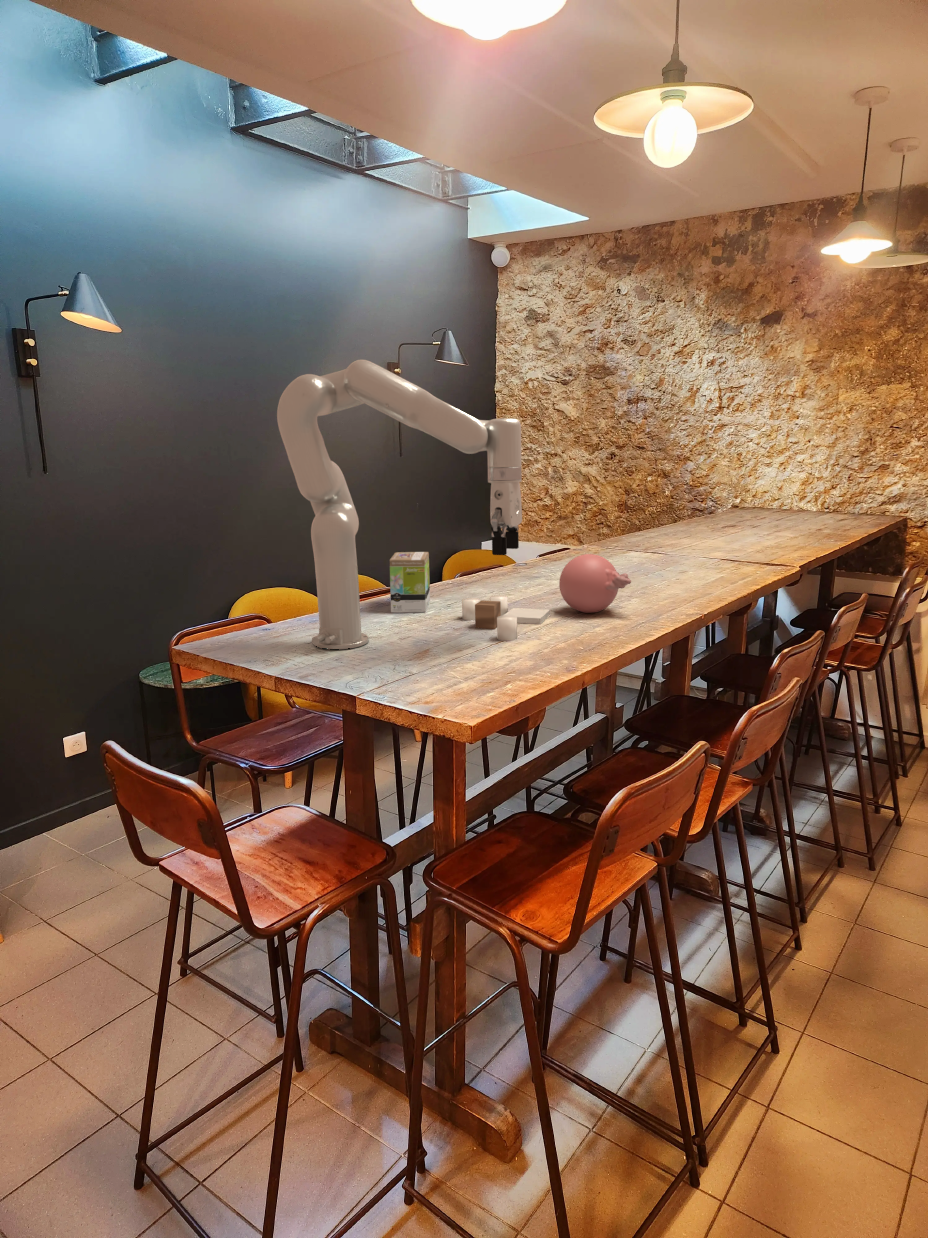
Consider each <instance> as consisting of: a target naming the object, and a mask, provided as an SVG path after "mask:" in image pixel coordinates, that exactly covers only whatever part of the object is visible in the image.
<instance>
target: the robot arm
mask: <svg viewBox="0 0 928 1238" xmlns="http://www.w3.org/2000/svg"><path fill="white" fill-rule="evenodd" d="M363 404H365V405H367V406H369V407H371V408H373V409H374V410H377V411H378V412H380V413H383V414H384V415H387V416H388V417H390V418H392V419H394V420H396V421H397V422H399V423H402V424H404V425H406V426H407V427H410V428H412V429H416V430H418V431H421V432H424V433H425V434H427V435H429V436H432V437H434V438H435V439H437V440H439V441H441V442H443V443H445V444H447V445H449V446H450V447H452V448H455V449H457V450H458V451H460V452H462V453H463V454H468V455H470V454H471V455H473V454H477V453H479V452H485V451H486V452H487V483H489V484H491V485H490V504H489V505H490V506H489V509H490V511H489V513H490V514H489V515H490V524H491V529H490V530H491V553H492V555H493V556H506V555H507V553H508V551H507V550H508V549H509V550H517V549H519V548H520V547H519V544H520V543H519V541H520V540H519V537H520V536H519V533H520V531H519V527H520V526H519V525H520V524H522V521H523V511H522V510H523V509H522V508H523V507H522V506H523V505H522V492H521V491H522V490H521V484H520V483H521V482H522V481H523V480H522V477H523V476H522V425H521V422H520V420H519V419H518V418H514V417H513V418H512V417H510V418H505V417H504V418H502V417H501V418H493V419H489V420H486V419H478V418H476V417H474V416H472V415H470V414H468V413H466V412H464V411H462V410H460V409H459V408H458V407H457V408H456V407H455V406H453V405H451V404H449V403H448V402H445V401H443V400H442V399H440V398H438V397H437V396H434V395H433V394H431V393H430V392H429V391H427V390H426V389H424V388H422V387H420V386H418V385H416V384H415V383H413V382H411V381H409V380H407V379H405V378H403V377H401V376H399V375H398V374H395V373H394V372H391V371H389V370H388V369H386V368H385V367H382V366H380V365H379V364H376V363H374V362H372V361H370V360H367V359H357V360H355V361H353V362H351V363H350V364H349V365H348V366H347V368H345V369H341V370H338V371H334V372H330V373H327V374H324V375H320V376H319V375H317V374H314V373H313V374H312V373H306V374H301V375H300V376H298V377H296V378H295V379H293V380H292V381H291V382H290V383H289V384H288V385H287V386H286V387H285V389H284V390H283V392H282V394H281V396H280V397H279V400H278V405H277V408H276V409H277V411H276V417H277V418H276V420H277V425H278V431H279V433H280V437H281V439H282V443H283V445H284V448H285V451H286V455H287V459H288V462H289V464H290V467H291V469H292V472H293V475H294V478H295V482H296V485H297V488H298V490H299V493H300V494H301V495H302V496H303V498H305V499H306V500H307V501H309V502H310V505H311V508H312V511H313V512H314V515H315V516H314V517H313V520H312V523H311V527H310V537H311V538H310V539H311V546H312V551H313V558H314V559H313V560H314V570H315V571H314V572H315V579H316V580H315V581H316V583H315V584H316V594H317V608H318V609H317V610H318V611H317V612H318V621H319V622H318V624H319V628H318V634H317V635H313V637H311V643H312V644H313V646H314V647H316V646H317V647H316V648H318V647H320V648H319V649H322V648H328V649H327V650H330V649H339V650H349V649H348V648H350V649H355V648H359V647H362V646H365V645H366V644H368V643H369V636H368V635H367V634H366V633H362V622H361V621H362V620H361V619H362V618H361V605H360V604H361V603H360V587H359V586H360V585H359V572H358V571H359V569H358V559H357V556H358V555H357V548H356V547H357V546H356V535H357V533H358V531H359V527H360V522H359V520H360V519H359V516H358V513H357V510H356V506H355V505H354V501H353V498H352V495H351V493H350V490H349V487H348V484H347V481H346V478H345V476H344V474H343V471H342V470H341V468H340V466H339V465H338V464H337V463H336V462H334V461H333V460H331V458H330V455H329V453H328V450H327V448H326V445H325V440H324V437H323V435H322V432H321V431H320V428H319V427H320V426H319V425H318V424H319V423H318V417H322V416H327V415H330V414H333V413H337V412H341V411H344V410H347V409H350V408H355V407H358V406H360V405H363Z"/></svg>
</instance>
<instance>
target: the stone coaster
mask: <svg viewBox="0 0 928 1238" xmlns="http://www.w3.org/2000/svg"><path fill="white" fill-rule="evenodd" d="M504 615H511V616H516V617H517V624H531V625H541V624H542V623H544V620H545V619H546V620H547V619H548V618H549V617H550V616H551V609H541V608H525V607H523V608H521V607H513V608H511V609H510V610H508V612H507V613H506V614H504ZM549 615H550V616H549ZM548 616H549V617H548ZM547 617H548V618H547ZM546 620H545V621H546Z"/></svg>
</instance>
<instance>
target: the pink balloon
mask: <svg viewBox="0 0 928 1238" xmlns="http://www.w3.org/2000/svg"><path fill="white" fill-rule="evenodd" d="M559 576H560V577H559V591H560V594H561V597H562V599H563V600H564V602H565V603H566V604H567V606H569V607H571V609H573V610H575V611H577V612H580V613H584V614H594V613H598V612H602V610H605V609H606V608H608V607H609V606H610V605H612V603H613V602H614V600H616V598H617V594H618V592H619V589H624V588H626V586H627V585H630V584H631V583H632V581H631V579H630V578H629V574H628V573H622V574H620V573H619V572H618V571H617V569H616V568H615V566H614V565H613V564H612V563H611V561H609V560H608V559H606V558H605V557H603V556H601V555H598V554H595V553H594V554H591V553H585V554H580V555H578V556H575V557H574V558H573V559H570V560H569V561H568V562H567V564H566V565H564V567H563V569H562V571H561V572H560V575H559Z"/></svg>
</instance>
